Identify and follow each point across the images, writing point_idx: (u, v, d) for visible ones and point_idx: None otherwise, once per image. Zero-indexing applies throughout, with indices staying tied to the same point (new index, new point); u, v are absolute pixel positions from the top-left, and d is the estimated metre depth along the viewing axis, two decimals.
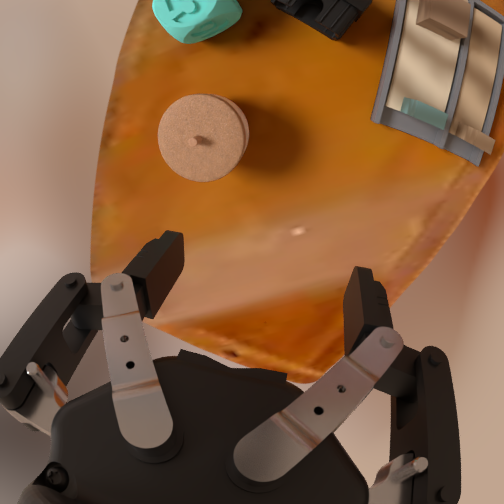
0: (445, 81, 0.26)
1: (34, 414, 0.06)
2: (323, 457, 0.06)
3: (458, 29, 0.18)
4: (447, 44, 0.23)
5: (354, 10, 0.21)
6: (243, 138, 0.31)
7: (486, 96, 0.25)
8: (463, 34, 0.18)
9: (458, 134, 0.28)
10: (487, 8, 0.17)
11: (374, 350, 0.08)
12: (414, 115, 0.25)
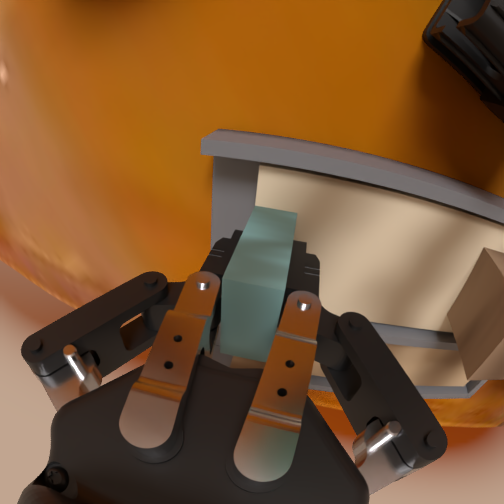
0: (357, 307, 0.16)
1: (53, 389, 0.07)
2: (323, 457, 0.06)
3: (485, 366, 0.10)
4: (439, 309, 0.15)
5: None
6: None
7: None
8: (474, 374, 0.11)
9: None
10: None
11: (297, 316, 0.09)
12: (229, 280, 0.09)
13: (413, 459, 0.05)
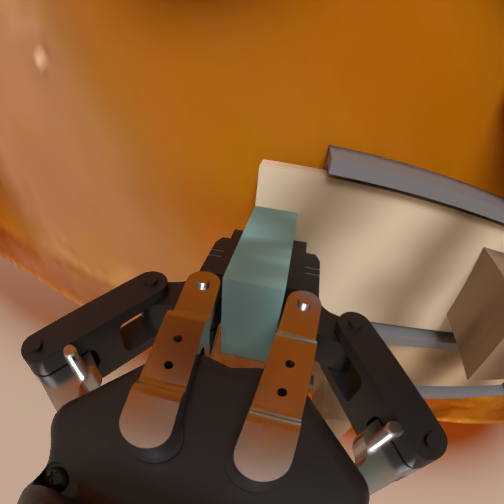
0: (357, 307, 0.16)
1: (53, 389, 0.07)
2: (323, 457, 0.06)
3: (485, 365, 0.10)
4: (439, 309, 0.15)
5: None
6: None
7: None
8: (474, 374, 0.11)
9: None
10: None
11: (297, 316, 0.09)
12: (229, 280, 0.09)
13: (413, 459, 0.05)
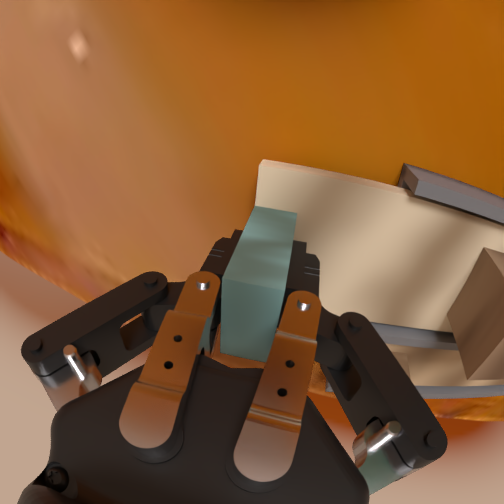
0: (356, 307, 0.16)
1: (53, 389, 0.07)
2: (323, 457, 0.06)
3: (485, 365, 0.10)
4: (439, 309, 0.15)
5: None
6: None
7: (443, 381, 0.19)
8: (474, 374, 0.11)
9: None
10: None
11: (297, 316, 0.09)
12: (228, 280, 0.09)
13: (413, 459, 0.05)
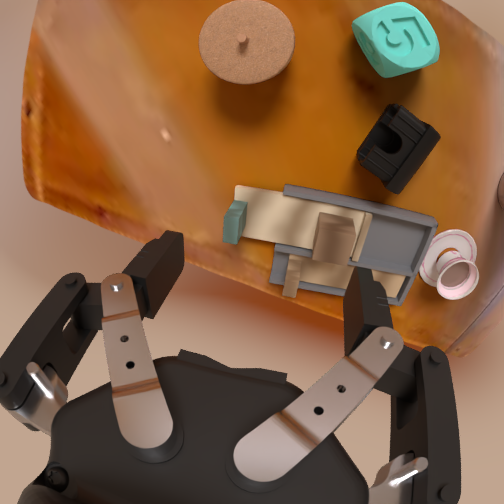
0: (273, 236, 0.45)
1: (34, 414, 0.06)
2: (323, 457, 0.06)
3: (316, 252, 0.40)
4: (308, 238, 0.44)
5: (386, 179, 0.33)
6: (249, 83, 0.29)
7: (329, 282, 0.48)
8: (313, 256, 0.40)
9: (290, 262, 0.46)
10: (407, 287, 0.45)
11: (374, 350, 0.08)
12: (225, 217, 0.39)
13: None
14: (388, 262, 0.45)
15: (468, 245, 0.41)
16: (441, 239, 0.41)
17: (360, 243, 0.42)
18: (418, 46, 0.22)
